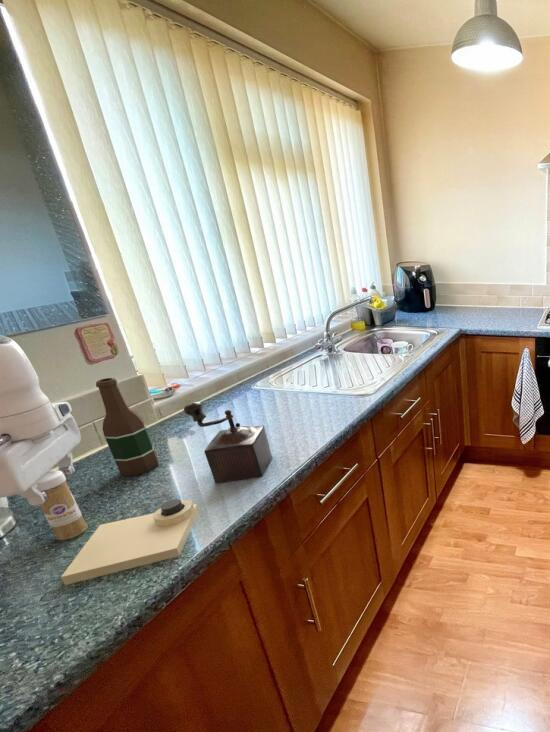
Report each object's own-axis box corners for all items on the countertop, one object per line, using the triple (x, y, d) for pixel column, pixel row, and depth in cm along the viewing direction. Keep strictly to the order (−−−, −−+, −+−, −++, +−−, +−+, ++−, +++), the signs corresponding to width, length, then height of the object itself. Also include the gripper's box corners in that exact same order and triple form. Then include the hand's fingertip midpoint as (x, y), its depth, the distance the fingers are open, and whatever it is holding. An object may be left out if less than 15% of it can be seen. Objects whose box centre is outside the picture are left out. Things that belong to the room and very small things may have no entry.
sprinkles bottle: (61, 544, 77) (30, 486, 72) (53, 536, 79) (22, 478, 75) (93, 530, 81) (65, 473, 76) (84, 522, 83) (57, 466, 78)
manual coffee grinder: (274, 454, 108) (258, 392, 101) (263, 477, 98) (244, 410, 91) (207, 463, 104) (186, 399, 97) (188, 488, 94) (163, 419, 87)
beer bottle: (130, 462, 104) (94, 376, 95) (166, 457, 106) (134, 372, 98) (113, 479, 97) (72, 387, 89) (151, 473, 99) (116, 383, 91)
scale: (64, 585, 68) (56, 569, 67) (103, 532, 80) (96, 518, 79) (180, 556, 74) (174, 541, 73) (199, 510, 86) (195, 497, 85)
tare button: (160, 518, 80) (158, 510, 79) (166, 508, 82) (163, 501, 82) (180, 513, 81) (177, 506, 80) (185, 504, 83) (182, 497, 83)
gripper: (5, 446, 64) (45, 517, 69) (73, 399, 81) (101, 458, 86) (-52, 455, 61) (-6, 528, 66) (31, 405, 79) (62, 465, 84)
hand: (55, 488), depth 76 cm, fingers open, 8 cm apart
